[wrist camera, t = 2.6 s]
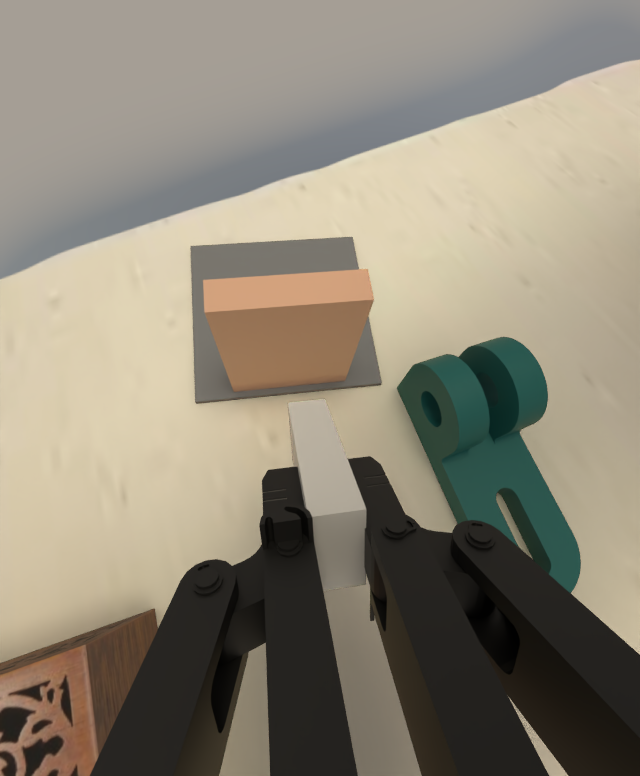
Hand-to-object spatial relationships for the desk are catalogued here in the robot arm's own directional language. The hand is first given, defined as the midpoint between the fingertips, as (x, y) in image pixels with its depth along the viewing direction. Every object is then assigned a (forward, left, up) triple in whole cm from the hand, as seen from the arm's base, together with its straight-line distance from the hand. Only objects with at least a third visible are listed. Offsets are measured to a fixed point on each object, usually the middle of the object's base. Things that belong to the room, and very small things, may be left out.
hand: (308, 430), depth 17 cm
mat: (0, -14, -15) cm, 21 cm away
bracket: (-14, +2, -15) cm, 21 cm away
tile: (0, -8, -14) cm, 17 cm away
